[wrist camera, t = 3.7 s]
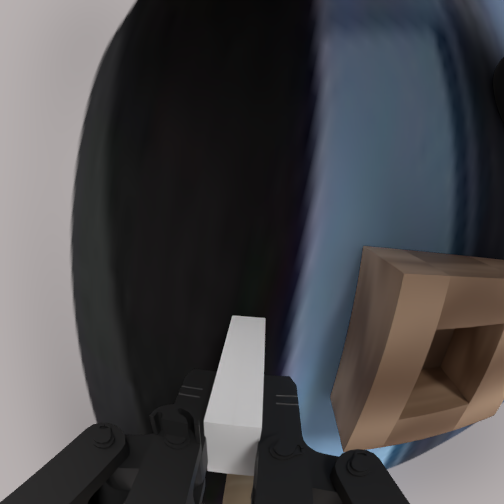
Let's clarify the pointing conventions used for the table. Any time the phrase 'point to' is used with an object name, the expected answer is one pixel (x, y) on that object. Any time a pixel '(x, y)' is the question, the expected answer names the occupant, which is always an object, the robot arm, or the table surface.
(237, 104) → the table surface
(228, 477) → the dowel
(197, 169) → the table surface
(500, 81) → the mug
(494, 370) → the block
